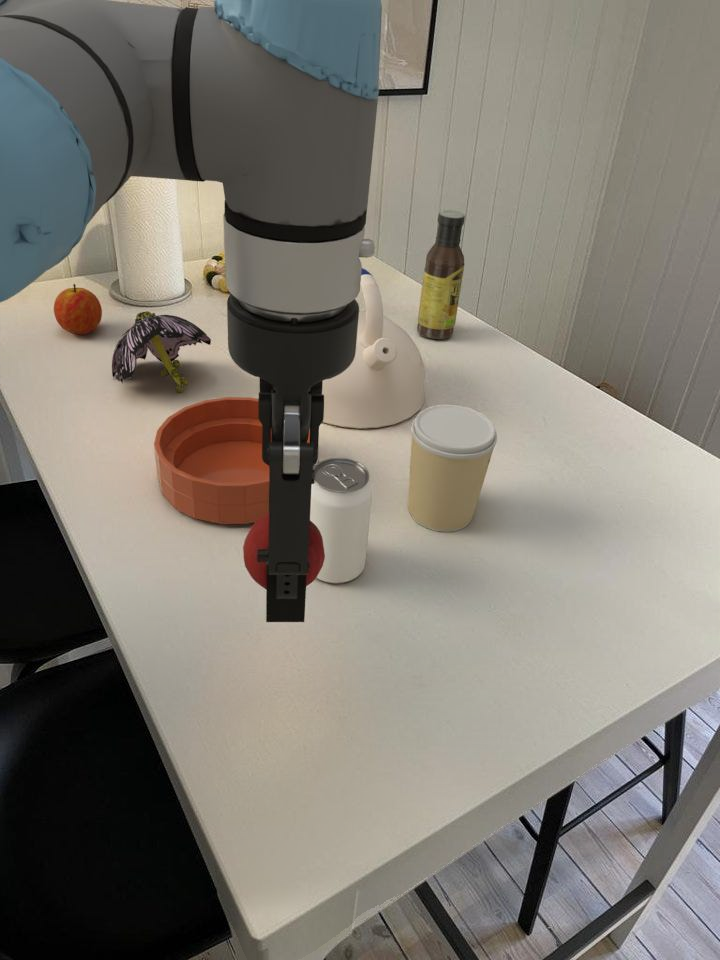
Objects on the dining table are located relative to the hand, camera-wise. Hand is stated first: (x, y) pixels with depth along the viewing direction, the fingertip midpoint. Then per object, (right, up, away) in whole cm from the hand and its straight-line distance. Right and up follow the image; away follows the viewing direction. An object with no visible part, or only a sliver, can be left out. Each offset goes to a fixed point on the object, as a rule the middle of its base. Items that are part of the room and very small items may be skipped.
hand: (285, 585), depth 56 cm
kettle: (+5, +20, +53) cm, 57 cm away
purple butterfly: (-23, +22, +52) cm, 61 cm away
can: (+3, -1, +24) cm, 24 cm away
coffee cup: (+15, +4, +32) cm, 36 cm away
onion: (0, 0, 0) cm, 1 cm away
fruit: (-38, +31, +62) cm, 79 cm away
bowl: (-9, +8, +35) cm, 37 cm away
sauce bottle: (+18, +32, +70) cm, 80 cm away
